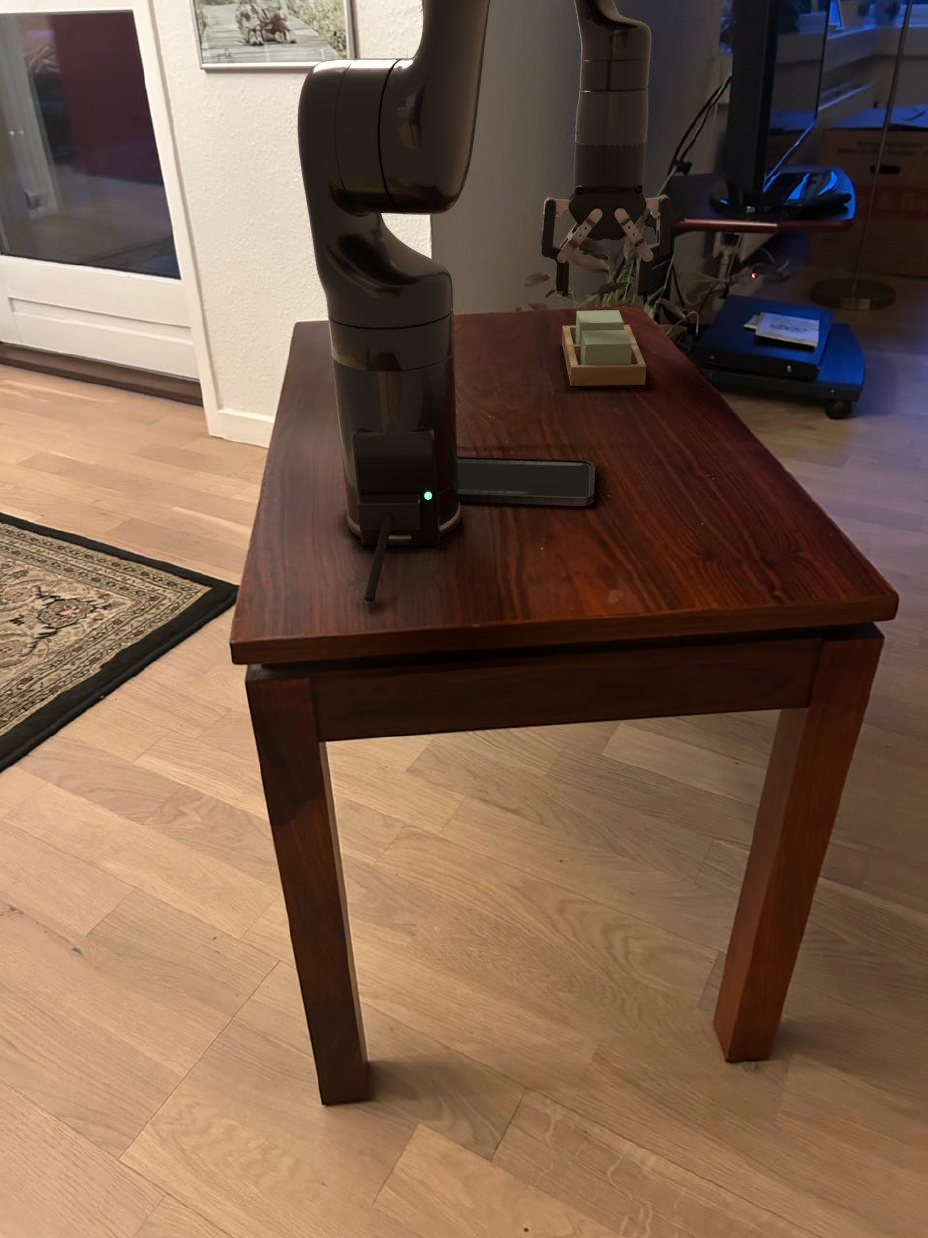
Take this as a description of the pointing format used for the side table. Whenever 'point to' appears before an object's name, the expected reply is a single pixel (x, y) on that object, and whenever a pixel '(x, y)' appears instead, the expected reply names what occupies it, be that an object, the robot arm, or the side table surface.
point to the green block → (597, 322)
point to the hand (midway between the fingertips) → (601, 294)
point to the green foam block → (605, 347)
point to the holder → (602, 373)
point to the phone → (526, 481)
